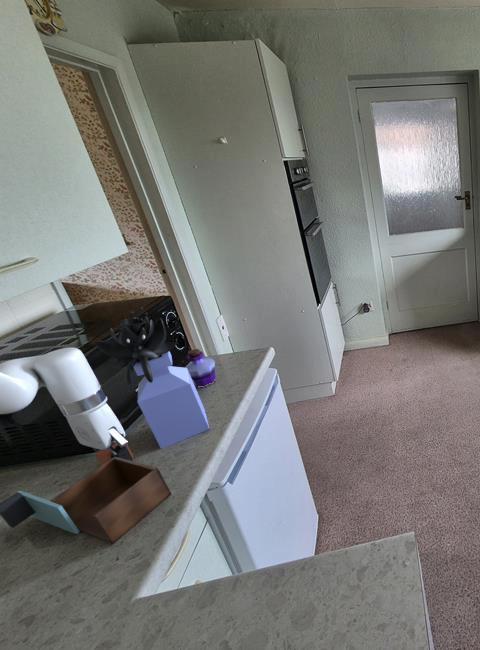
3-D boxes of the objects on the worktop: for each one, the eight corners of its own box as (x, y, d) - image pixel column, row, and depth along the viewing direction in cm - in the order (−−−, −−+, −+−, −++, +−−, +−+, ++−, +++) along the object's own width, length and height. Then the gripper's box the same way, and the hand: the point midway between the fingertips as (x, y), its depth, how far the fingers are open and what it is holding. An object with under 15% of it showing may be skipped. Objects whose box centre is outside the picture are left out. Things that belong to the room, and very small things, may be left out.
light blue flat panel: (54, 551, 71) (32, 522, 68) (12, 533, 76) (-10, 505, 73) (80, 531, 75) (59, 503, 72) (38, 515, 79) (18, 488, 76)
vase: (146, 458, 93) (79, 331, 79) (147, 433, 102) (86, 315, 88) (212, 430, 101) (161, 310, 87) (207, 410, 109) (160, 297, 95)
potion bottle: (184, 389, 121) (170, 356, 116) (208, 374, 128) (195, 342, 123) (204, 392, 118) (190, 359, 113) (227, 377, 125) (215, 345, 120)
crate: (113, 544, 73) (95, 516, 69) (69, 526, 77) (50, 500, 74) (171, 494, 82) (158, 468, 79) (129, 481, 87) (115, 456, 84)
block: (102, 467, 91) (93, 453, 90) (122, 454, 95) (114, 440, 93) (114, 471, 90) (106, 457, 88) (134, 457, 94) (126, 443, 92)
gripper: (39, 406, 85) (78, 467, 92) (88, 417, 79) (125, 481, 87) (78, 386, 91) (112, 445, 98) (126, 395, 86) (157, 457, 93)
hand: (118, 461), depth 93 cm, fingers closed on block, 4 cm apart
